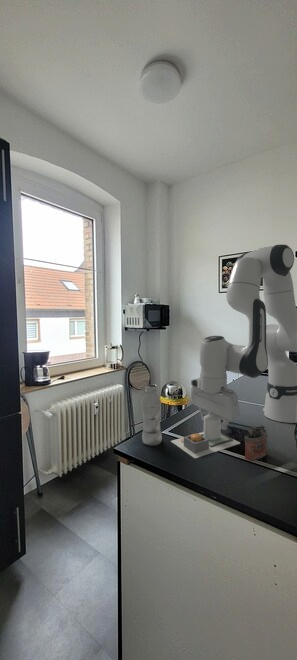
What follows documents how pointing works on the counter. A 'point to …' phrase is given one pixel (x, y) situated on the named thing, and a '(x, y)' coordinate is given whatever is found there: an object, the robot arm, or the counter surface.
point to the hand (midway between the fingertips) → (213, 424)
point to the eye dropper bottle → (212, 426)
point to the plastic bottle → (151, 416)
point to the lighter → (255, 443)
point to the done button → (196, 437)
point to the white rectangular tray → (204, 445)
